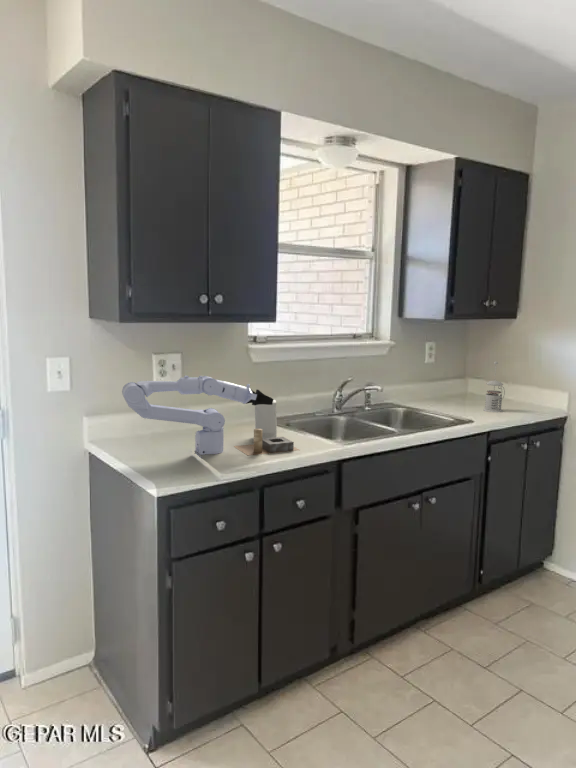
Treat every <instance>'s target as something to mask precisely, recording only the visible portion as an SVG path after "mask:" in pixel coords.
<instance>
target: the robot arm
mask: <svg viewBox="0 0 576 768" xmlns="http://www.w3.org/2000/svg"><path fill="white" fill-rule="evenodd" d="M250 386H251V384H250V383H247V384H246V386H244V385H240V384H236V383H233V382H229V381H225V380H220V379H216V378H214V377H211V376H210V375H209V376H207V375H199V376H198V377H197V376H196V377H195V376H193V377H190V376H189V375H184V376H183V377H180V378H179V379H178V380H177V381H176V380H174V381H171V380H169V381H168V380H167V381H166V380H142V381H141V380H139V381H136V382H133V381H130V382H127V383H126V384H124V386H123V387H122V390H121V395H122V396H123V398H124V400H125V402H126V404H127V406H128V407H129V409H132V410H133V411H134V412H135V413H136V414H138V415H139V417H141V419H147V420H148V419H149V420H158V421H165V422H174V423H180V424H181V423H183V424H190V425H191V424H193V425H196V426H200V427H202V429H201V430H196V432H195V435H194V439H195V443H194V444H195V445H194V446H195V447H194V448H195V451H194V454H196V455H197V456H198V457H199V458H200V459H203V457H202V455H215V454H221V453H224V437H225V436H224V426H225V423H226V422H225V421H226V420H225V417H224V415H223V414H221V412H219V411H218V410H217V409H215V408H212V407H211V408H210V407H208V408H206V409H191V408H183V407H177V406H176V407H175V406H167V405H159V404H152V403H150V402H149V401H148V399H147V398H148V397H149V396H151V395H152V394H153V393H160V392H162V393H163V392H178V393H179V394H180V395H200V394H201V395H202V393H203V394H205V395H207V396H218V398H222V399H227V400H230V401H234V402H238V403H241V404H243V405H245V404H251V405H252V406H255V405H259V404H265V405H272V403H273V400H274V398H272V397H270V396H269V395H266V394H264V393H263V392H262V391H261V390H260V389H255V390H256V391H254V390H253V389H252V388H251V387H250Z"/></svg>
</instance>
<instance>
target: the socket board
mask: <svg viewBox="0 0 576 768" xmlns="http://www.w3.org/2000/svg"><path fill="white" fill-rule="evenodd" d="M233 447H234V448H235V449H237V450H238V451H240V452H241V453H244V455H246V456H259V455H267V454H268V455H269V454H276V453H278V454H279V453H286V452H288V453H289V452H296V451H300V449H299V448H298V447H295V446H294V441H292V440H290V439H288V438H286V437H284V436H277V437H274V438H263V439H262V453H254V443H253V444H252V443H251V444H243V445H233Z"/></svg>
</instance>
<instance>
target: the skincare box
mask: <svg viewBox="0 0 576 768" xmlns="http://www.w3.org/2000/svg"><path fill="white" fill-rule="evenodd" d="M254 422H255V424H254V429H262V439H263V438H274V437H278V435H277V433H278V431H277V429H278V426H277V400H276V399H273V403H272V405H265V404H259V405H254Z"/></svg>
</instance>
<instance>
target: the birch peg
mask: <svg viewBox="0 0 576 768" xmlns="http://www.w3.org/2000/svg"><path fill="white" fill-rule="evenodd" d="M253 444H254V453H262V429H255V428H253Z"/></svg>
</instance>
